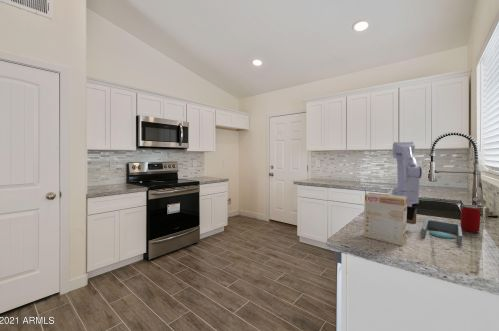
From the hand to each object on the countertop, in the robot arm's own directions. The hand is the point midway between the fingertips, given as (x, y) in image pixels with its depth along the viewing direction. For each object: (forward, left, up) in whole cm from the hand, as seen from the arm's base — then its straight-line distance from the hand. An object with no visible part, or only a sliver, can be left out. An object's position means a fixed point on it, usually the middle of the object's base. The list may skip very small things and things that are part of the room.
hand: (410, 218), depth 113 cm
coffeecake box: (+22, -7, -6) cm, 24 cm away
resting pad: (-1, +12, -6) cm, 13 cm away
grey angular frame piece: (-1, +12, -6) cm, 13 cm away
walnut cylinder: (0, 0, -2) cm, 2 cm away
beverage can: (-18, +22, -6) cm, 29 cm away
